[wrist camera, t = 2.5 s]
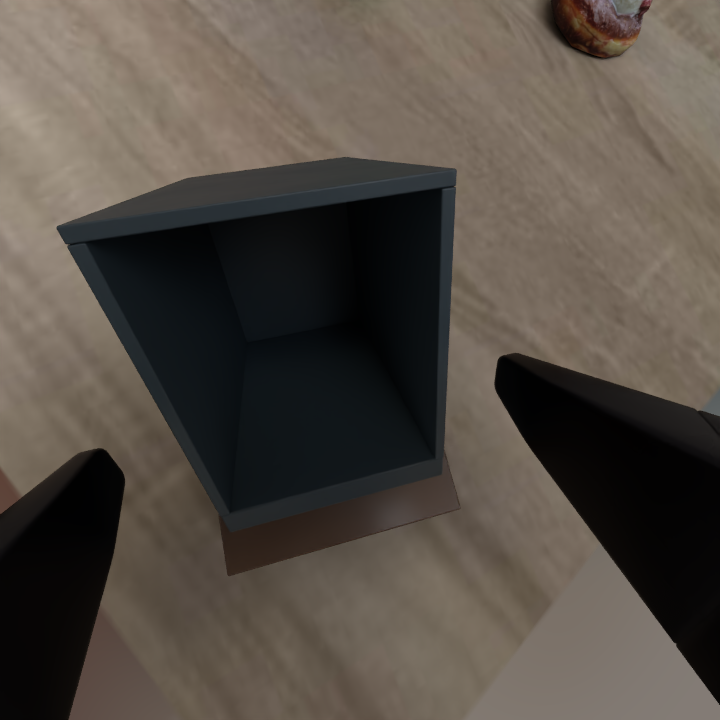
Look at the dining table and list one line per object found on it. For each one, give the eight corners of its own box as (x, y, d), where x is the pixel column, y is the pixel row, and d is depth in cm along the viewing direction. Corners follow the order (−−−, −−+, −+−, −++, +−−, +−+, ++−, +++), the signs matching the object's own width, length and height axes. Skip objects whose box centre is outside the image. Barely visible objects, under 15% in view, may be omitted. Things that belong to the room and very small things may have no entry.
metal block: (433, 494, 19) (461, 509, 15) (250, 545, 17) (227, 577, 13) (405, 388, 20) (424, 376, 16) (231, 429, 18) (205, 427, 15)
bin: (397, 459, 19) (577, 517, 5) (271, 493, 18) (84, 670, 4) (341, 236, 22) (361, -109, 8) (229, 255, 21) (33, -101, 7)
